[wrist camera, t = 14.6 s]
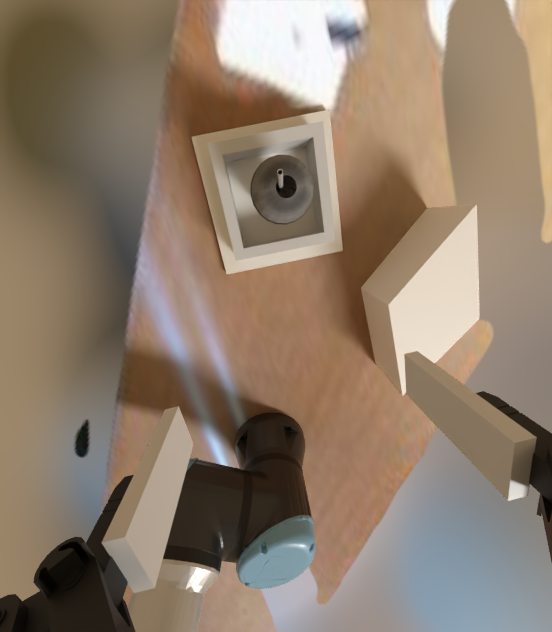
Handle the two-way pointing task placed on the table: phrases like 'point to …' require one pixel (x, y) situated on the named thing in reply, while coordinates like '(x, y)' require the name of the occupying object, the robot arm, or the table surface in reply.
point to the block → (424, 290)
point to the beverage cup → (282, 189)
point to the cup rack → (235, 191)
